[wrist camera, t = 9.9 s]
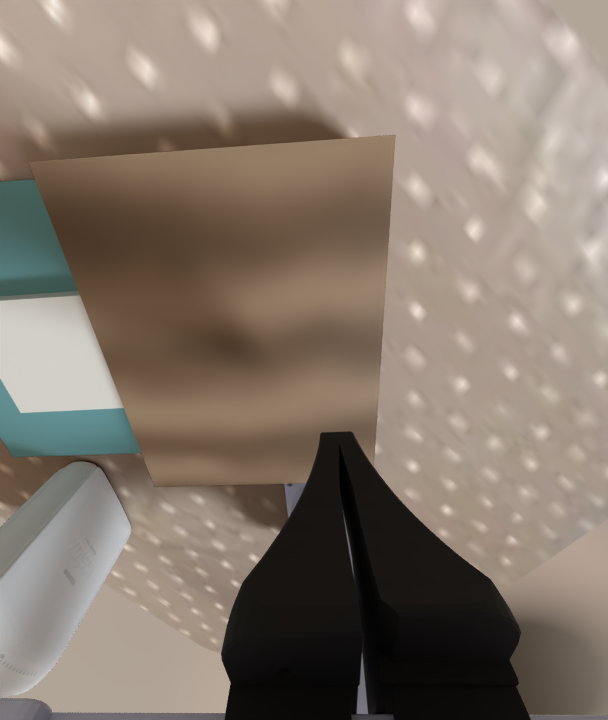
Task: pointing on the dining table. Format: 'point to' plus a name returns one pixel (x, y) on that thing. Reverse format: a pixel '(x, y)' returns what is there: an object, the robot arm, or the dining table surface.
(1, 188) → the mat
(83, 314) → the coaster
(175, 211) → the wood grain panel
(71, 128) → the dining table surface
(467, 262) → the dining table surface
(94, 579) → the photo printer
